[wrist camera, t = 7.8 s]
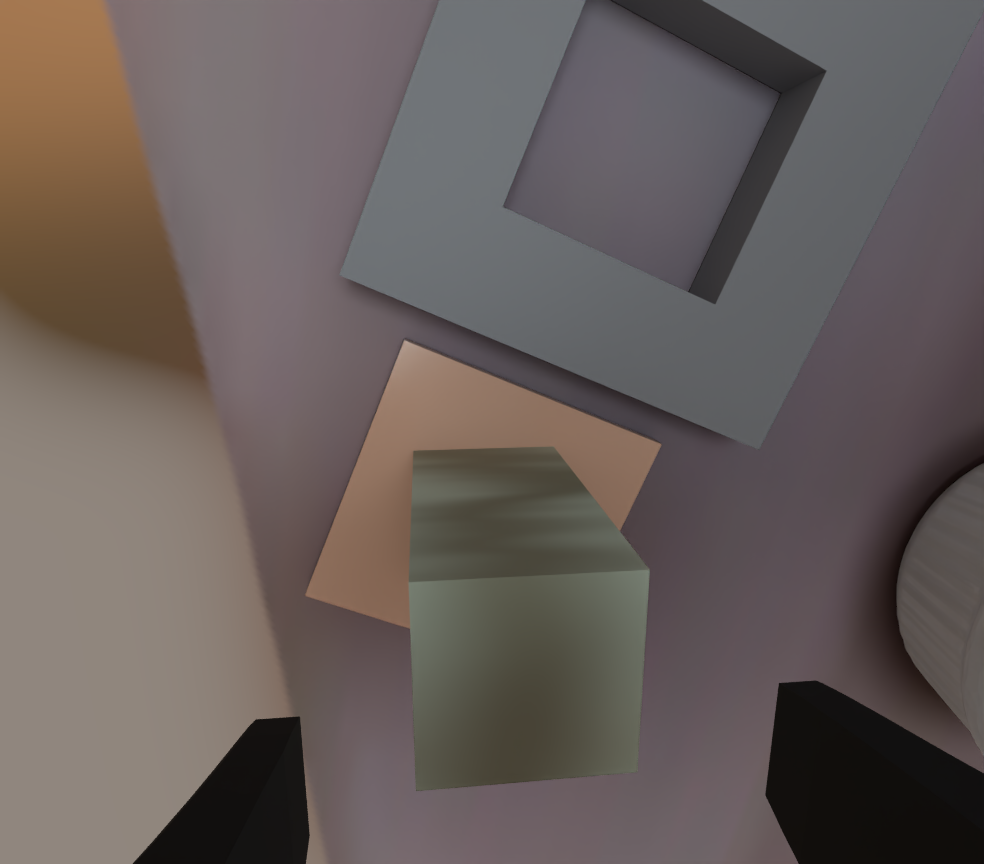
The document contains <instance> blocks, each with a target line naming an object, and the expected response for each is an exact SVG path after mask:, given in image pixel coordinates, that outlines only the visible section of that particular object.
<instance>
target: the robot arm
mask: <svg viewBox="0 0 984 864" xmlns="http://www.w3.org/2000/svg"><path fill="white" fill-rule="evenodd" d="M766 797H767V799H768V801H769V804H770V806H771V808H772V810H773V812H774V814H775V816H776V818H777V821H778V823H779V825H780V827H781V829H782V831H783V833H784V835H785V837H786V839H787V841H788V843H789V845H790V847H791V849H792V851H793V853H794V855H795V857H796V859H797V861H798V863H799V864H984V773H982V772H980V771H978V770H976V769H975V768H973V767H971V766H969V765H967V764H966V763H964V762H962V761H960V760H959V759H957V758H955V757H953V756H952V755H950V754H948V753H946V752H944V751H943V750H941V749H939V748H937V747H936V746H934V745H932V744H930V743H929V742H927V741H925V740H923V739H922V738H920V737H918V736H916V735H915V734H913V733H911V732H909V731H908V730H906V729H904V728H903V727H901V726H899V725H897V724H896V723H894V722H892V721H890V720H889V719H887V718H885V717H883V716H882V715H880V714H878V713H876V712H875V711H873V710H871V709H869V708H868V707H866V706H864V705H862V704H860V703H859V702H857V701H855V700H853V699H851V698H850V697H848V696H846V695H844V694H842V693H840V692H838V691H836V690H835V689H833V688H831V687H829V686H827V685H825V684H823V683H820V682H818V681H803V682H789V683H779V687H778V696H777V704H776V712H775V720H774V729H773V737H772V745H771V753H770V762H769V770H768V778H767V786H766ZM308 843H309V823H308V811H307V798H306V786H305V774H304V762H303V750H302V738H301V725H300V717H286V718H272V719H258V720H255V721H254V722H253V723H252V724H251V725H250V726H249V727H248V728H247V730H246V731H245V732H244V733H243V734H242V736H241V737H240V738H239V739H238V741H237V742H236V743H235V744H234V745H233V747H232V748H231V749H230V751H229V752H228V753H227V754H226V756H225V757H224V758H223V759H222V760H221V762H220V763H219V764H218V765H217V767H216V768H215V769H214V770H213V771H212V773H211V774H210V775H209V776H208V778H207V779H206V780H205V781H204V782H203V784H202V785H201V786H200V787H199V788H198V790H197V791H196V792H195V793H194V794H193V796H192V797H191V798H190V799H189V801H187V803H186V804H185V805H184V806H183V807H182V808H181V810H180V811H179V812H178V813H177V814H176V815H175V816H174V818H173V819H172V820H171V821H170V822H169V823H168V825H167V826H166V827H165V828H164V829H163V830H162V831H161V833H160V834H159V835H158V836H157V838H155V840H154V841H153V842H152V843H151V844H150V845H149V846H148V847H147V849H146V850H145V851H144V852H143V853H142V854H141V855H140V856H139V857H138V858H137V860H136V861H135V862H134V863H133V864H306V858H307V850H308Z"/></svg>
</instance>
